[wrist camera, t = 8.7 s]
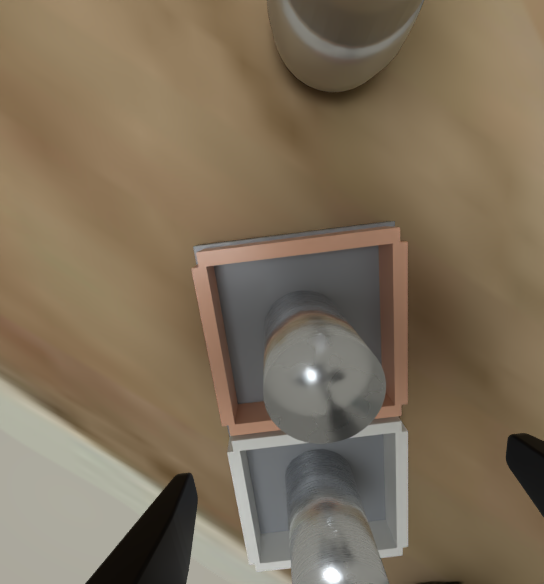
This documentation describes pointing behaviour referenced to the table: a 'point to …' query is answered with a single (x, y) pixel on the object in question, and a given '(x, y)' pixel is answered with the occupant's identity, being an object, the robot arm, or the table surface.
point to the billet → (328, 523)
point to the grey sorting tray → (250, 365)
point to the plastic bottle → (340, 38)
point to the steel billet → (318, 371)
